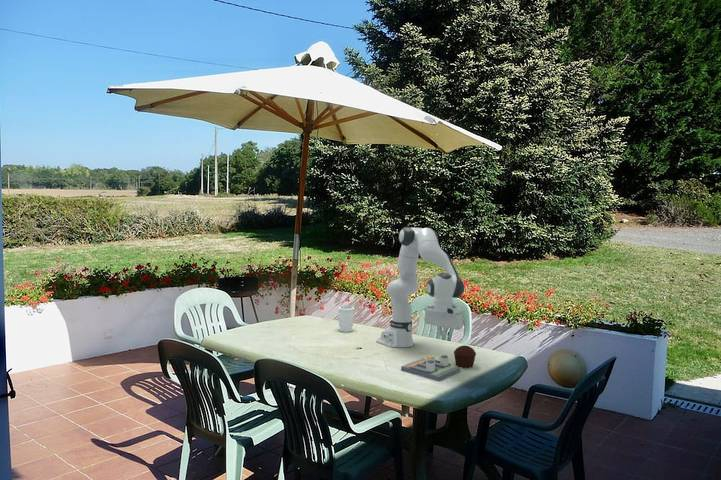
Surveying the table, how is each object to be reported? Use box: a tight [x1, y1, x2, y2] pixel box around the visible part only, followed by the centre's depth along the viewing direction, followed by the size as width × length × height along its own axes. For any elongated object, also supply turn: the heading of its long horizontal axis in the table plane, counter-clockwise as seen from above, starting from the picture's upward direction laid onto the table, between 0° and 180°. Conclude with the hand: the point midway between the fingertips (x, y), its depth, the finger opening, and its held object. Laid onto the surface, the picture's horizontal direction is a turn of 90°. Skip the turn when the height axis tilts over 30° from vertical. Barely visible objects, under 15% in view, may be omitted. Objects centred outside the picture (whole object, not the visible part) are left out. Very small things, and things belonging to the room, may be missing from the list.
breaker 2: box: [439, 354, 450, 366], centre depth 261 cm, size 3×3×5 cm
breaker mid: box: [425, 355, 436, 362], centre depth 260 cm, size 3×3×5 cm
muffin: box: [453, 345, 477, 369], centre depth 269 cm, size 12×11×10 cm
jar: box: [337, 305, 355, 333], centre depth 336 cm, size 11×10×15 cm
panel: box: [400, 358, 461, 382], centre depth 260 cm, size 22×19×3 cm
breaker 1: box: [426, 360, 435, 372], centre depth 253 cm, size 3×3×5 cm
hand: (442, 335), depth 254 cm, fingers closed
